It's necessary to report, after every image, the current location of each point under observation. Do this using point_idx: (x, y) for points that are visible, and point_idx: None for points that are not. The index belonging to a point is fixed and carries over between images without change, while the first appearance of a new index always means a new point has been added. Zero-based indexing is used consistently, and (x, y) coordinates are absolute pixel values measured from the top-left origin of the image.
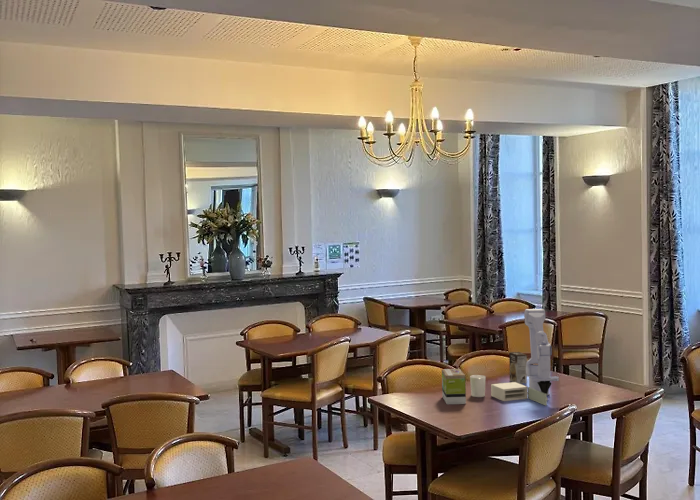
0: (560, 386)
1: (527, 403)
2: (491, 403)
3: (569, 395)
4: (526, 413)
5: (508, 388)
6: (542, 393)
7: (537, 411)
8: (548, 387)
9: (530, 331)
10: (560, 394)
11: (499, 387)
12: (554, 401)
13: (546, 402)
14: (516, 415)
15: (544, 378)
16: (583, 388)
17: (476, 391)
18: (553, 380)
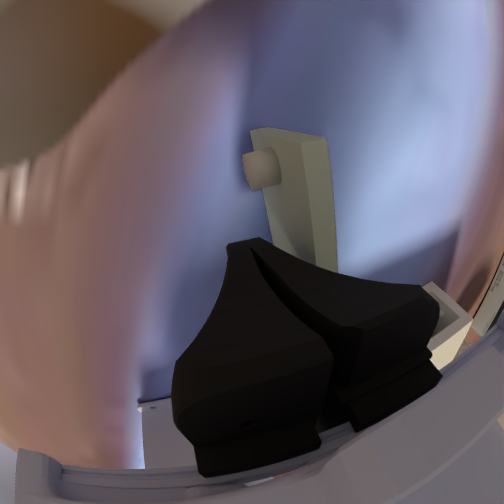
0: (93, 458)
1: (361, 232)
2: (474, 245)
3: (38, 387)
4: (441, 17)
5: (448, 341)
6: (331, 208)
7: (382, 10)
8: (236, 310)
9: None
10: (81, 405)
11: (457, 350)
12: (122, 284)
13: (259, 132)
14: (473, 23)
15: (491, 432)
16: (19, 432)
17: (464, 339)
18: (111, 479)
